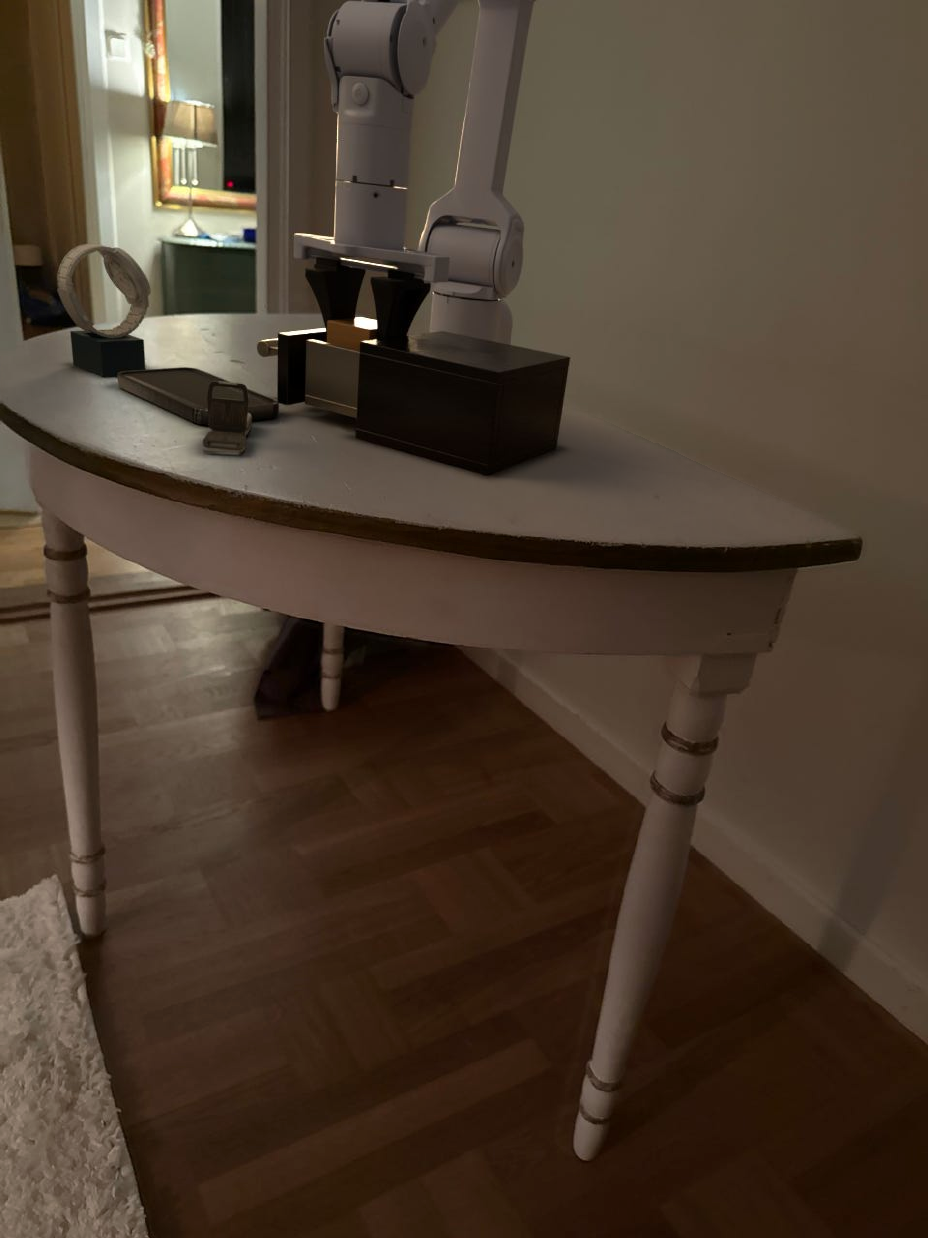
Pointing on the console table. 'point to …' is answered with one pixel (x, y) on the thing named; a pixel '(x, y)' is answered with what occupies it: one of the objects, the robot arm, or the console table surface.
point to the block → (351, 331)
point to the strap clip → (227, 420)
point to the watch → (114, 346)
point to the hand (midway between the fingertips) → (363, 360)
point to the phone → (190, 392)
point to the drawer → (314, 371)
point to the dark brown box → (460, 399)
